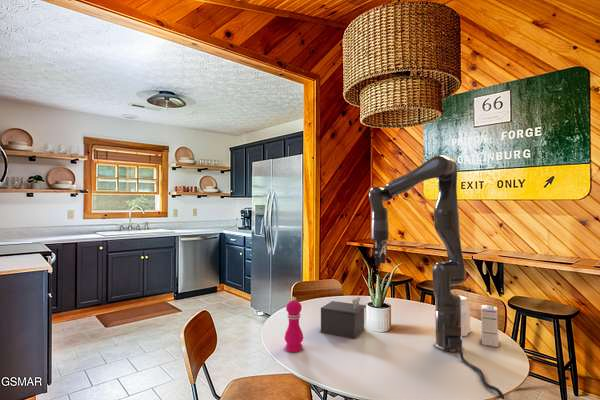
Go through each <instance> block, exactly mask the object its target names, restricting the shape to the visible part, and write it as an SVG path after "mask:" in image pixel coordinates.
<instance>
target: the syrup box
mask: <svg viewBox="0 0 600 400" xmlns="http://www.w3.org/2000/svg"><path fill="white" fill-rule="evenodd" d="M480 319H481V320H480V321H481V344H482V345H484V346H489V347H495V348H499V316H498V306H495V305H489V304H488V305H487V304H481V307H480Z"/></svg>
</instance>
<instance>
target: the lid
mask: <svg viewBox="0 0 600 400" xmlns="http://www.w3.org/2000/svg"><path fill="white" fill-rule="evenodd" d="M360 301H361V297H360V296H356V297H355V298H353V299H352V300H351V303H350V302H343V301H335V300H331V301H329V302H328V303H326V304H325V305H323V306H322V307H320V311H321V310H327V311H334V312H341V313H349V314H358V313H359V312H360V311H361V310H363V309H364V310H365V308H366V307H367V305H366V304H360Z"/></svg>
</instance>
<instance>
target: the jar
mask: <svg viewBox="0 0 600 400" xmlns="http://www.w3.org/2000/svg"><path fill="white" fill-rule="evenodd" d="M457 295H458V296H460V298H461V337H468V334H470V333H471V330H472V328H471V307H470V305H469V304H468V298H467V297H466V296H464V295H459V294H457Z"/></svg>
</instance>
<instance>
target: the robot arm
mask: <svg viewBox="0 0 600 400" xmlns="http://www.w3.org/2000/svg"><path fill="white" fill-rule="evenodd" d="M432 179H437V184H438V195H437V199H436V202H435V204H434V209H433V223H434V230H435V232H436V234H437V236H438V237H439V238H440V240H441V241H442V243H443V245H444V247H445V250H446V255H447V261H438V262H435V264H434V265H433V266H432V276H431V277H432V290H433V295H434V300H435V301H434V302H435V303H434V305H435V311H434V313H435V316H434V317H435V347H436V348H437V349H439V350H440V351H443V352H445V353H459V355H460V356H459V357H460V359H461V361H462V362H463V363H464V364H465V365H466V366H467V367H470V368H471V369H473V370H475V371H476V372H478V374H479V375H480V379H481V382H482V384H483V385H484V387H486V388H488V389H490V390H493V391H495V392H496V393H497V394H498V395H499V397H500V399H502V400H505V399H506V397H505V395H504V394H503V392H502V391H501V390H500V388H498V387H496V386H494V385H491V384H490V383H488V382H487V381H486V378H485V375H484V373H483V371H482V370H481V369H480V368H479V367H477V366H475V365H473V364H471V363H470V362H468V361H467V360H466V358H465V357H464V354H463V351H462V349H463V339H462V336H461V298H460V296H461V295H460V296H458V295H459V294H455V293H453V292H452V291H451V287H452V286H459V285H462V284H464V282H465V280H466V265H465V261H464V256H463V255H464V254H463V250H462V240H461V232H460V231H461V230H460V213H459V201H458V188H457V187H458V165H457V162H456V160H455V159H453V158H452V157H449V156H445V155H442V154H441V155H440V154H439V155H435V156H433V157H431V158H430V159H428V160H426V161H425V162H424V163H422V164H421V165H418V166H417V167H416V168H414V169H412V170H411V171H409V172H407V173H405V174H402V175H401V176H398V177H397V178H394V179H392V180H390V181H388V182H387V184H386V185H384V186H373V187H371V189H370V190H369V193H368V200H369V203H370V208H371V212H372V217H371V218H372V221H371V240H373V241H375V242H374V243H373V244H372V246H373V247H372V249H373V251H372V252H373V253H372V254H373V255H372V256H373V257H374V265H375V266H376V267H381V264H386V256H387V253H388V242H387V241H388V240H389V238H390V237H389V233H390V232H389V211H388V208H387V207H385V206H384V203H385V202H388V201H391V200H392V199H394V198H395V197H396V196H399V195H401V194H404V193H407V192H409V191H410V190H412V189H413V188H414V187H416V186H417V185H418V184H420V183H423V182H424V181H427V180H432Z"/></svg>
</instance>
